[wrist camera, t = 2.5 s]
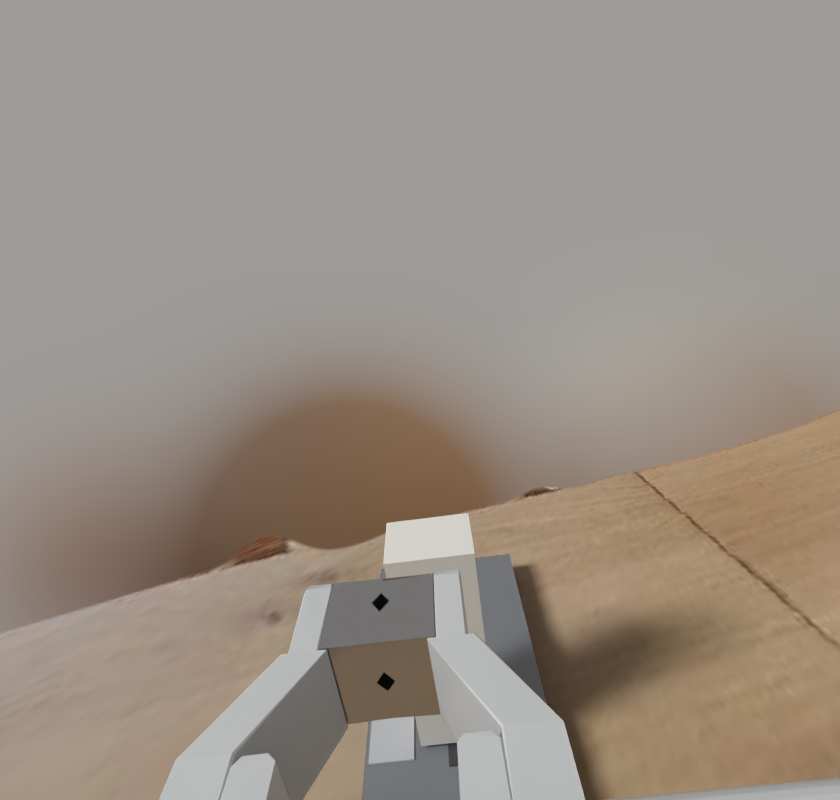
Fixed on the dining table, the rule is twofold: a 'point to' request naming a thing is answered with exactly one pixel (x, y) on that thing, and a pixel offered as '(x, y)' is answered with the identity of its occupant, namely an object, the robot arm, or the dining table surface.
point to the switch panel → (398, 737)
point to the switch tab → (427, 553)
